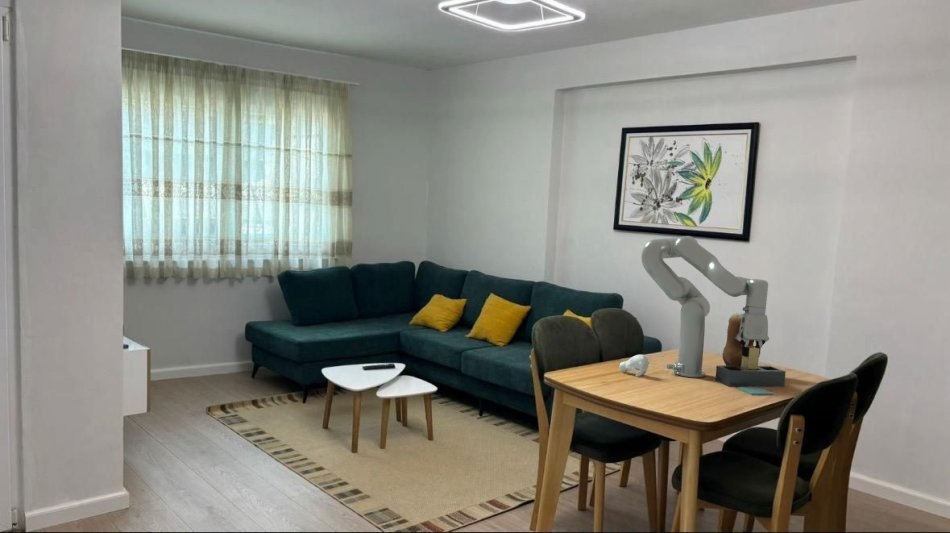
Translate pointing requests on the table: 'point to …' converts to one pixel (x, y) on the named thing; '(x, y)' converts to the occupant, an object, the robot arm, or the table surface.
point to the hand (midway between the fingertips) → (750, 356)
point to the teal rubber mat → (755, 391)
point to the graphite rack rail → (750, 376)
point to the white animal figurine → (635, 365)
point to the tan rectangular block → (751, 359)
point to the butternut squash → (734, 342)
